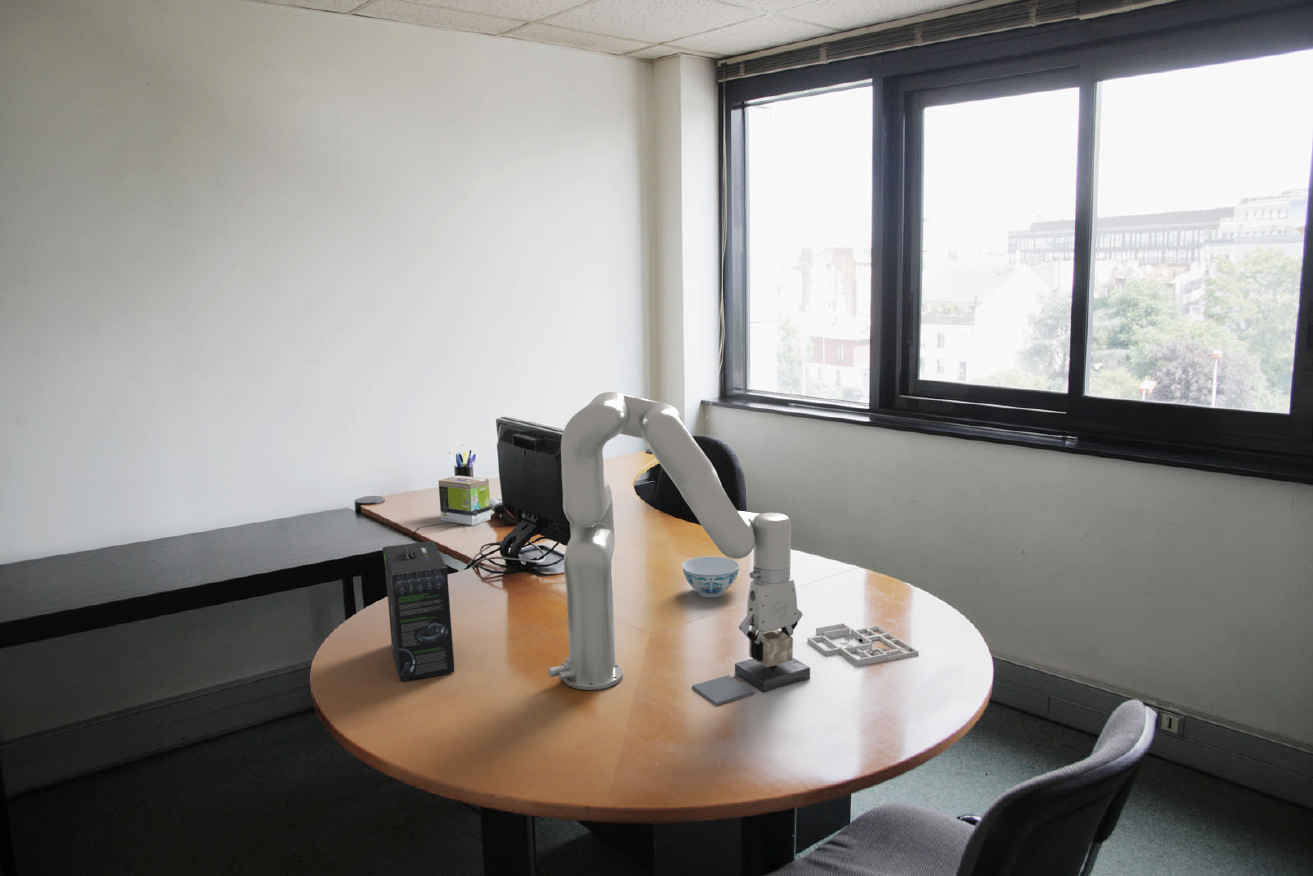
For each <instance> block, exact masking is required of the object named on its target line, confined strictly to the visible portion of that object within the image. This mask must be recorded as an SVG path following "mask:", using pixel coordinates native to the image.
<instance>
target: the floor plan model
mask: <svg viewBox="0 0 1313 876" xmlns="http://www.w3.org/2000/svg"><path fill="white" fill-rule="evenodd" d="M875 631H878V632H879V631H880V632H879V633H880V634H879V633H877V632H875ZM881 632H882V633H881ZM862 633H864V634H865V635H863V634H862ZM823 634H824V635H823ZM850 635H851V636H852V637H851V636H850ZM844 636H845V637H844ZM846 636H847V637H846ZM838 637H844V639H845V641H844V642H840V644H841V645H846V646H845V647H842V646H839V645H837V644H836V643H835V642H833V640H831V639H832V638H833V639H834V638H838ZM853 637H854V638H855V639H857V640H858V641H859V643H860V644H858V645H853V644H850V642H849V641H850V640H852V641H853ZM885 637H887V638H889V639H887V638H885ZM890 638H891V639H890ZM877 640H879V641H881V642H882V641H883V642H882V643H884V644H885V643H886V645H887V646H889V647H890V648H892V649H891V650H890V649H889V648H888V647H887V648H886V647H884V648H882V649H881V648H879V647H875V648H873V641H877ZM818 642H823V643H825V644H826V645H827V646H829V647H830V648H829V649H825V648H824V647H823V646H822V645H820V644H818ZM807 643H808V644H809V645H811V646H812V647H813V648H814V649H816V650H817V651H819V652H820V653H822V654H823V655H824V656H825V657H826V656H831V655H832V656H833V655H837V654H839V655H841V656H843V657H844V658H845V659H847V660H848V661H849V662H851V663H852V664H853V665H855V666H856V667H861V666H864V665H869V664H875V663H879V662H880V663H882V662H885V661H887V662H888V661H889V662H890V661H893V660H898V659H903V658H908V657H909V656H910V657H914V656H913V655H915V656H918V655H919V653H920V652H919V650H917V649H916V648H915V647H913V646H911V645H909V644H908V643H906V642H905V641H903V640H902V639H900V638H898V637H895V636H894V635H892V634H890V633H888V632H887V631H885V630H884V629H882V628H881V627H879V626H873V627H865V628H861V629H854V628H851V627H850V626H849V625H848V624H845V622H842V623H838V624H835V623H834V624H830V625H826V626H825V625H824V626H819V627H815V636H809V637H807ZM861 643H862V644H861ZM847 644H848V645H847ZM849 644H850V645H849ZM897 644H898V645H897ZM902 646H903V647H902ZM901 647H902V648H904V647H906V648H905V650H907V652H905V651H904V650H902V648H901ZM888 650H889V651H888ZM908 650H909V651H910V652H909V651H908ZM853 653H856V654H857V655H859V656H860V657H861V658H859V657H857V656H856V655H853ZM910 657H909V658H910Z"/></svg>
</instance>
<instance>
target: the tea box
mask: <svg viewBox="0 0 1313 876" xmlns="http://www.w3.org/2000/svg"><path fill="white" fill-rule="evenodd" d="M489 481H490V480H489V478H484V477H482V478H481V477H474V476H466V475H454V476H451V477H447V478H443V479H439V480H438V492H439V493H438V494H439V496H438V497H439V509H440V519H441V520H440V521H443V522H448V523H455V524H461V525H466V526H467V525H468V526H475V525H479V524H481V523H485V522H488V521H491V518H492V517H491V500H490V499H491V497H490V495H491V494H490V483H489Z"/></svg>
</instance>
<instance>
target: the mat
mask: <svg viewBox="0 0 1313 876" xmlns="http://www.w3.org/2000/svg"><path fill="white" fill-rule="evenodd" d="M691 688H692V690H694V691H696V692H697V693H699V694H700V695H701V696H702V697H704V698H706V699H707V700H708V701H709V702H711V703H712V704H714V705H715V706H720V705H724V704H727V703H730V702H733V701H736V700H739V699H742V698H747V697H750V696H752V695H754V694H755V691H754V690H753V689H751V688H749V687H748V686H746V685H745V684H743V683H742V682H740V681H738V680H737V679H736V678H734V677H732V676H731V675H729V674H727V675H724V676H720V677H717V678H713V679H709V680H707V681H703V682H699V683H696V684H693V685H691Z"/></svg>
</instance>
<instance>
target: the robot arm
mask: <svg viewBox="0 0 1313 876" xmlns="http://www.w3.org/2000/svg"><path fill="white" fill-rule="evenodd" d="M618 435H625V436H629V437H634V438H637V439H642V440H643V442H644V443H645V445H646V447H647V448H648V449H649V451H650V452H651V453H652V455H653V457H654V458H655V459H656V461H658V463H659V464H660V466H661V467H662V469H663V470H664V472H666V474H667V475H668V477H669V478H670V480H671V481H672V482H673V484H674V485H675V487H676V489H678V491H679V493H680V495H681V497H682V498H683V500H684V501H685V502H686V504H687V505H688V507H689V508H690V510H691V511H692V513H693V515H694V516H695V518H696V519H697V521H698V522H699V524H700V525H701V527H702V529H703V530H704V531H705V532H706V534H707V535H708V537H709V538H710V539H711V541H712V542H713V543H714V545H715V546H716V547H717V549H718V550H719V551H720V552H721V553H722V554H723V555H724V556H725V557H726V558H729V559H732V560H739V559H740V560H741V559H743V558H745V557H747V556H749V555H750V554H751V553H752V551H753V567H752V569H753V570H752V571H750V572H749V575H748V576H749V578H750V579H752V580H750V585H749V591H748V595H747V597H748V598H747V605H746V606H747V608H746V609H747V610H746V616H745V617H744V618H743V620H742V622H741V623H740V624H739V625H738V630H739V631H741V633H743V634H744V636H745V637H747V638H748V640H749V639H750V640H751V656H752V657H753V658H754V659H756V660H758V661H759V662H761V661H762V660H763V643H761V639H762V636H763V634H764V632H768V631H772V630H776V629H778V630H780V631H781V632H783V633H785V634H787V635H789V636H791V637H792V636H793V634H794V630H796V629H795V628H796V627H797V626H798V624H799V623H798V622H800V620H801V619H802V617H803V615H804V614H803V612H802V611H801V610H800V609H799V608H798V603H797V602H798V599H797V591H796V590H797V589H796V585H795V580H794V578H793V576H792V577H791V552H792V551H791V546H792V545H791V544H792V543H791V542H792V522H791V519H790V518H789V517H790V516H787V515H786V514H784V513H780V512H763V513H756V512H750V511H749V512H748V511H742V510H737V508H736V507H735V506H734V504H733V503H732V501H731V500H730V498H729V497H728V494H727V493H726V491H725V489H724V488H723V486H722V483H721V481H720V477H719V476H718V475H719V474H718V473H717V471H716V469H715V467H714V466H713V465H714V464H712V462H711V460H710V459H709V458H708V457H707V455H706V454H705V452H704V451H703V449H702V448H701V447H700V446H699V444H698V443H697V442H696V440H695V438H694V437H693V436H692V434H691V433H690V431H689V430H688V428H687V427H686V426H685V424H684V423H683V419H682V415H681V413H680V412H679V411H678V409H677V408H676V407H674V406H673V405H670V404H668V403H665V402H661V401H657V400H651V399H647V398H642V397H638V396H633V395H629V394H625V393H619V392H613V391H608V392H602V393H600V394H598V395H596V396H595V397H593V399H592V400H591V401H590V403H588V404H587V405H586V406H584V407H583V408H582V409H580V410H579V411H577V412H576V413H575V414H574V415H573V416H572V417H571V418H570V419H569V421H568V422H567V424H566V425H565V427H564V429H563V432H562V436H561V440H560V455H561V456H560V457H561V458H560V459H561V460H560V461H561V484H562V509H563V512H564V515H565V517H566V519H567V521H568V522H569V527H570V528H569V529H570V538H569V540H568V542H567V545H566V548H565V550H564V551H565V552H564V556H563V573H564V580H565V590H566V591H565V593H566V606H567V607H566V608H567V609H566V610H567V626H568V627H567V629H568V631H567V632H568V650H569V651H568V652H569V653H568V654H569V655H568V657H565V658H564V662H563V663H561V665H558V666H552V667H548V669H547V674H548V676H549V678H555V677H558V678H559V679H560V680H563V682H564V683H565V684H566V685H568V687H571V688H574V689H577V690H583V691H584V690H585V691H596V690H602V689H603V690H604V689H607V688H610V687H613V686H615V685H616V684H618V683H619V682H621V680H622V679H623V677H624V675H623V672H624V671H623V669H622V667H621V666H620V665H619V664H617V663H616V654H615V653H616V652H615V649H616V648H615V624H614V623H615V621H614V620H615V619H614V597H613V596H614V595H613V593H614V591H613V579H612V577H613V575H612V559H613V556H614V550H615V545H616V540H615V539H616V537H615V523H614V503H613V493H612V489H611V486H610V484H609V483H608V481H607V480H606V479H605V472H604V466H605V465H604V456H603V454H604V453H603V450H604V447H605V445H606V444H607V443H608V442H609V441H610V440H613V439H614V438H615V437H617V436H618ZM750 626H751V628H750ZM756 632H757V635H756ZM753 658H752V659H753Z"/></svg>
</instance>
